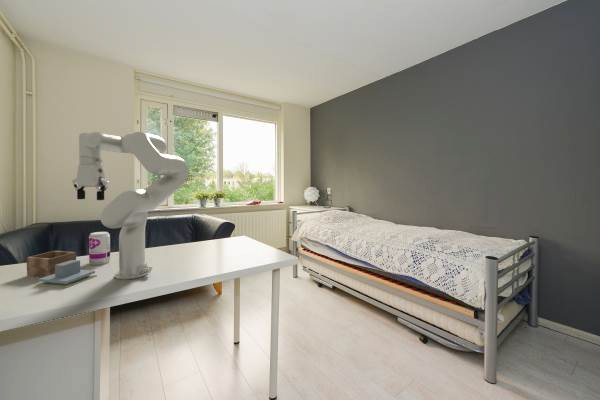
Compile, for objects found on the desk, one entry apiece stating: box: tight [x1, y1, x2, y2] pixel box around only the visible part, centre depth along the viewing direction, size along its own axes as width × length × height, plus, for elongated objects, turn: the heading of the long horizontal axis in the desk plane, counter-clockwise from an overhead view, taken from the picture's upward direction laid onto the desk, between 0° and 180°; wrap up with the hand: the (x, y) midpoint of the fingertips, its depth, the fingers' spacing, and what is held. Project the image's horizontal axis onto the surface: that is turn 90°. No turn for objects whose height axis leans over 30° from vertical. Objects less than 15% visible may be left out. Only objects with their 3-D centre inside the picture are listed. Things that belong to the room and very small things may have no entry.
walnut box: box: [26, 250, 77, 278], centre depth 111 cm, size 11×11×8 cm
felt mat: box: [35, 274, 97, 289], centre depth 104 cm, size 13×13×1 cm
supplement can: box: [88, 231, 111, 266], centre depth 126 cm, size 8×8×15 cm
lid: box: [38, 259, 96, 284], centre depth 103 cm, size 12×12×7 cm
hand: (90, 199), depth 115 cm, fingers open, 9 cm apart
